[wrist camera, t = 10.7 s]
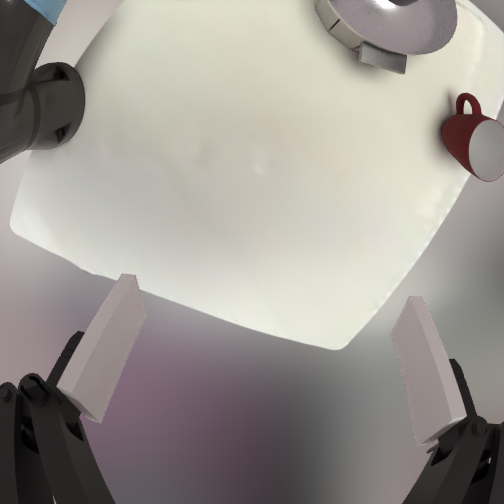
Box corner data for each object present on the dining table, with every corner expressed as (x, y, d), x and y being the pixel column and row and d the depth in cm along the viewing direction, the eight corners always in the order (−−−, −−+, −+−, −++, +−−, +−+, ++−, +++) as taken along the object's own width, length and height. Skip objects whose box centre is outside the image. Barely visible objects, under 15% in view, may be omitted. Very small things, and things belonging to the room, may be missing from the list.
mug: (421, 93, 29) (459, 101, 20) (463, 87, 26) (505, 96, 18) (435, 162, 34) (470, 187, 26) (474, 153, 31) (512, 175, 23)
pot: (309, 58, 29) (318, 50, 21) (319, -53, 18) (328, -82, 11) (410, 84, 28) (442, 88, 21) (417, -24, 18) (446, -41, 10)
